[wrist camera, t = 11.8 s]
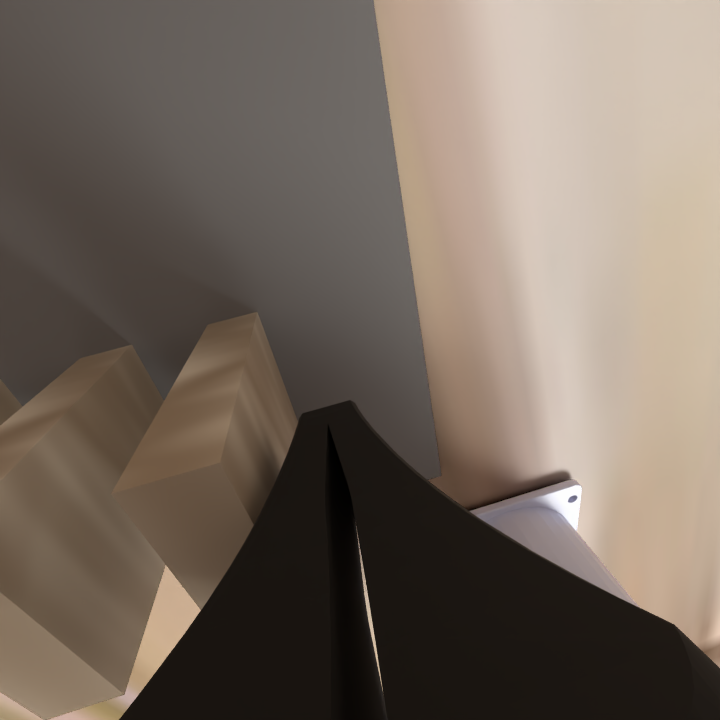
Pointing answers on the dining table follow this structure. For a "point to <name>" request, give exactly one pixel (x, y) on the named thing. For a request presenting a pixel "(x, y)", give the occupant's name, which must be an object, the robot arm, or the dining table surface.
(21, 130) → the rubber mat
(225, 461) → the domino
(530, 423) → the dining table surface
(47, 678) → the domino
